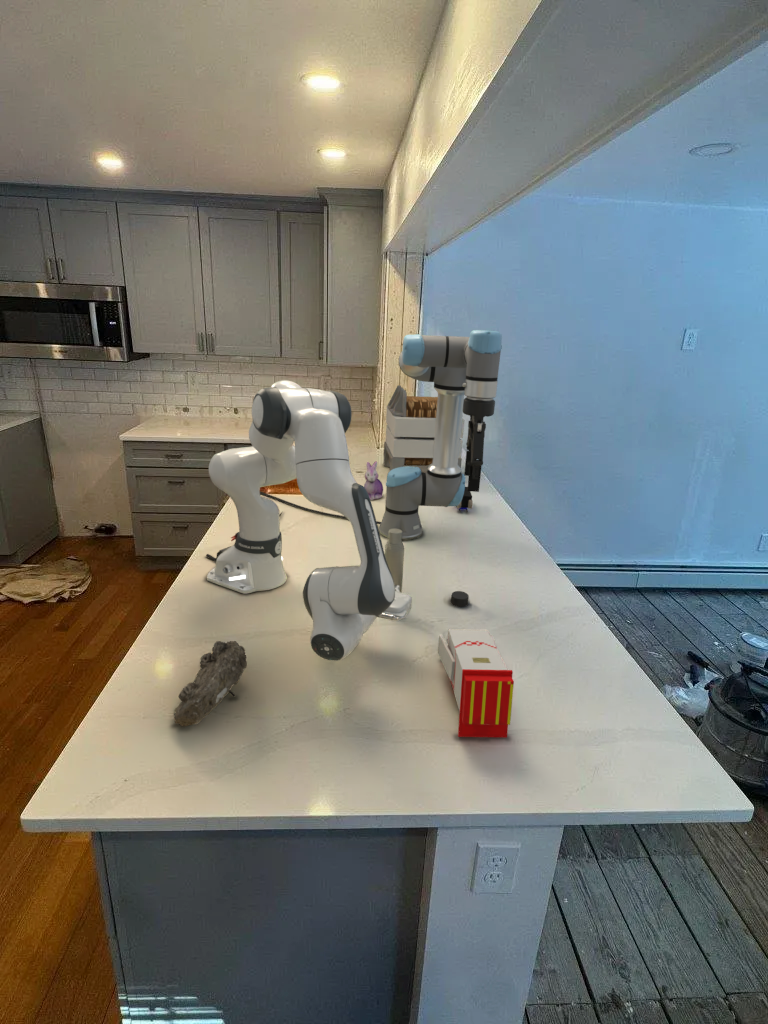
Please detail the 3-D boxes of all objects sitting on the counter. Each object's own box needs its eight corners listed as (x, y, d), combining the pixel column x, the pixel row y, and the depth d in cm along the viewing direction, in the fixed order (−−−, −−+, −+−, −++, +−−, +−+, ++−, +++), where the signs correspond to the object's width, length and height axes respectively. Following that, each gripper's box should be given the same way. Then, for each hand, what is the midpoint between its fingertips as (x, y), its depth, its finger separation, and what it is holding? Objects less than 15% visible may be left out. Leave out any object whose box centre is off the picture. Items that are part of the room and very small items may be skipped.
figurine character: (472, 517, 222) (467, 501, 236) (475, 500, 219) (469, 484, 233) (455, 517, 222) (451, 500, 236) (457, 499, 219) (452, 484, 232)
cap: (465, 598, 157) (466, 590, 156) (469, 607, 153) (470, 599, 152) (449, 598, 156) (449, 591, 156) (452, 607, 152) (453, 599, 151)
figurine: (368, 501, 231) (369, 466, 226) (357, 494, 239) (358, 459, 234) (388, 499, 235) (390, 464, 230) (377, 492, 244) (378, 458, 239)
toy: (488, 613, 130) (523, 677, 101) (484, 667, 133) (517, 744, 104) (435, 612, 130) (455, 676, 101) (432, 666, 133) (451, 743, 103)
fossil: (197, 643, 123) (246, 611, 118) (228, 672, 126) (277, 642, 121) (151, 720, 104) (207, 686, 99) (188, 752, 107) (245, 721, 102)
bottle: (404, 608, 150) (409, 532, 143) (390, 613, 147) (394, 536, 140) (392, 600, 154) (396, 525, 147) (378, 605, 151) (381, 529, 144)
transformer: (382, 463, 289) (386, 382, 275) (445, 464, 293) (451, 384, 279) (390, 482, 257) (394, 392, 243) (460, 483, 261) (468, 394, 247)
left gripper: (402, 608, 120) (420, 580, 133) (315, 588, 126) (340, 564, 139) (401, 633, 122) (418, 604, 135) (315, 613, 128) (339, 587, 141)
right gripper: (461, 390, 148) (454, 468, 155) (466, 405, 124) (458, 497, 131) (490, 391, 147) (482, 470, 154) (501, 407, 124) (491, 499, 131)
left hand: (378, 583), depth 137 cm, fingers open, 8 cm apart
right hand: (471, 483), depth 143 cm, fingers open, 13 cm apart
